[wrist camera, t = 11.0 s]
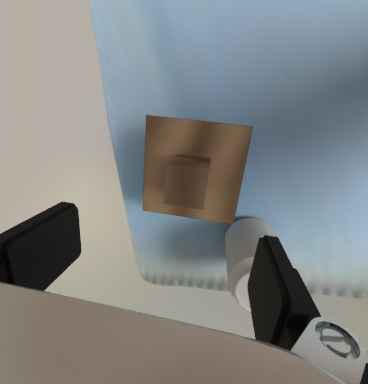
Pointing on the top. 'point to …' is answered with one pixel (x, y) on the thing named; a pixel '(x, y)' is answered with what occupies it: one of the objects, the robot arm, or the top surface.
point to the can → (243, 255)
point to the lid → (194, 167)
